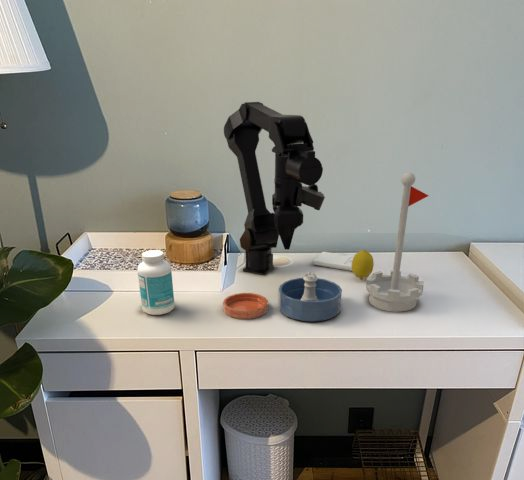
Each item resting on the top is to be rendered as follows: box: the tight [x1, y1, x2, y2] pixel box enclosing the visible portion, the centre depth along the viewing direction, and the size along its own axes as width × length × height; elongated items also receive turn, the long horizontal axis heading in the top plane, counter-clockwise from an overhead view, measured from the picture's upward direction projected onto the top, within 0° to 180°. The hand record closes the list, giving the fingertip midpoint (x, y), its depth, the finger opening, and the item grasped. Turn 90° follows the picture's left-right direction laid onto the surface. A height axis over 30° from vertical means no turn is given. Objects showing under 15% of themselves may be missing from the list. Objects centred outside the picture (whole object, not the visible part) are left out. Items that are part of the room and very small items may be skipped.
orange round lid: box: [222, 292, 269, 320], centre depth 128 cm, size 10×10×2 cm
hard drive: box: [312, 251, 355, 272], centre depth 154 cm, size 2×8×12 cm
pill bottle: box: [136, 249, 175, 316], centre depth 125 cm, size 8×7×14 cm
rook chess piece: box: [301, 272, 319, 301], centre depth 127 cm, size 4×4×8 cm
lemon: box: [351, 249, 375, 281], centre depth 143 cm, size 6×6×8 cm
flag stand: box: [365, 171, 430, 313], centre depth 125 cm, size 13×13×30 cm
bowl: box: [277, 277, 343, 322], centre depth 127 cm, size 14×14×5 cm
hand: (285, 242), depth 133 cm, fingers open, 9 cm apart
